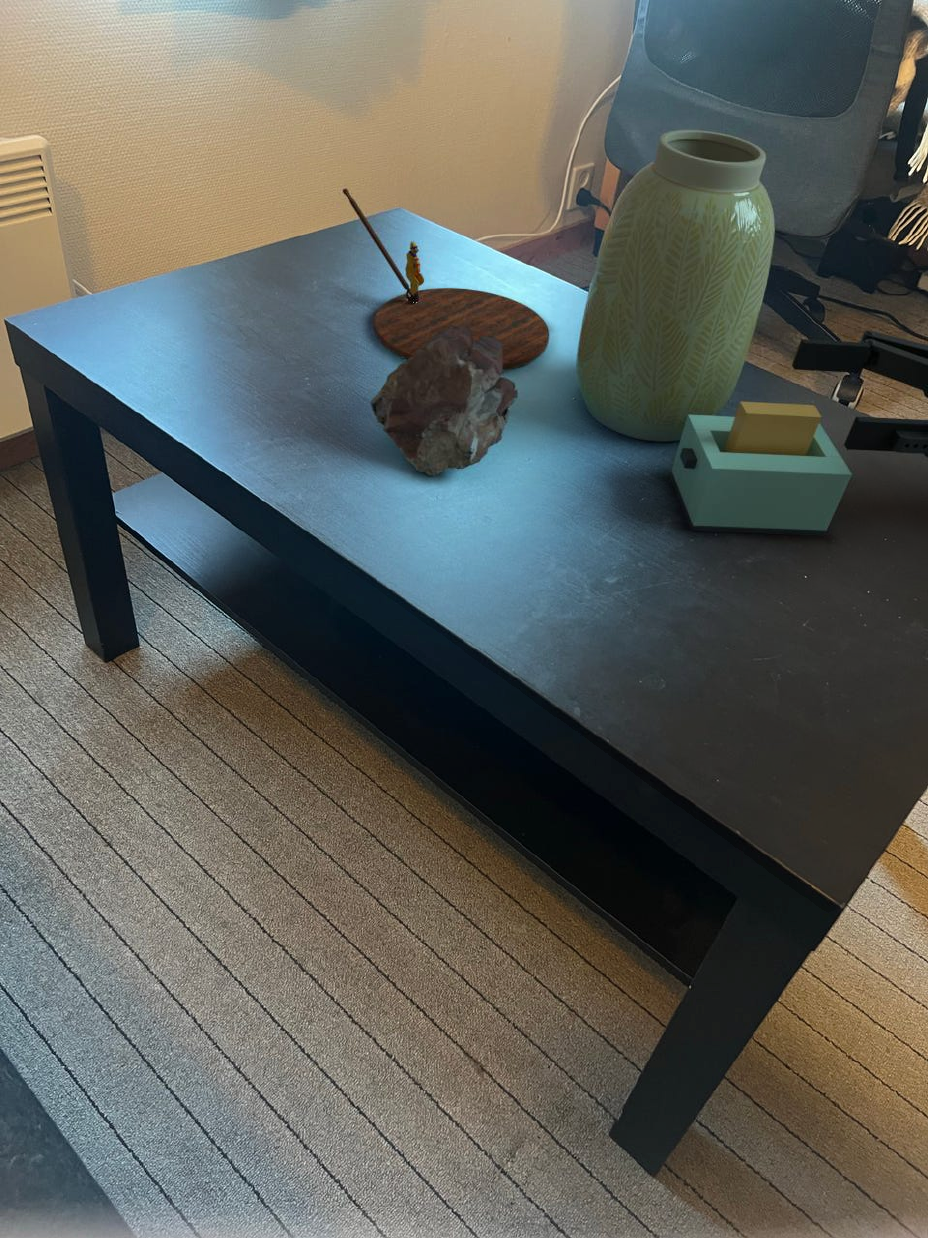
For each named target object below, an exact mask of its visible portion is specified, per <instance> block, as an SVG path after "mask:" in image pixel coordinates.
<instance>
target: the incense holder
mask: <svg viewBox="0 0 928 1238" xmlns="http://www.w3.org/2000/svg"><path fill="white" fill-rule="evenodd" d="M342 193H343V194H344V195H345V197H346V198H347V199H348V202H349V204H350V205H351V207H352V209H353V211H354V212H355V213H356V215H357V217H358V218H359V220H360V221H361V223H362V224H363V226H364V227H365V229H366V231H367V232H368V234H369V236H370V237H371V238H372V240H373V242H374V243H375V245H376V246H377V248H378V249H379V251H380V253H381V254H382V256H383V257H384V259H385V260H386V262H387V264H388V265H389V267H390V268H391V270H392V272H393V273H394V274H395V276H396V278H397V279H398V281H399V282H400V284H401V286H402V287H403V289H404V290H406V292H405V293H403V294H400V295H397V296H395V297H393V298H391V299H389V300H387V301H386V302H385V303H383V305H381V306H380V307H379V308H378V310H377V311H376V312H375V315H374V319H373V329H374V333H375V335H376V337H377V339H378V340H379V341H380V343H381V344H382V345H383V346H384V347H386V348H387V349H388V350H389V351H391V352H392V353H393V354H396V355H397V356H399V357H401V358H403V359H404V360H407V361H408V359H409V358H410V357H412V356H414V355H415V352H416V351H417V350H418V348H420V347H421V346H422V345H423V344H424V343H425V342H427V341H428V340H430V339H431V338H432V337H434V336H435V335H436V334H437V333H438V332H439V331H440V330H442V329H446V330H448V329H451V328H452V327H453V326H454V325H456V326H463V327H468V328H469V329H470V330H471V331H472V332H473V343H475V342H476V341H477V340H478V339H479V338H481V337H482V336H485V337H489V338H494V339H499V340H500V341H501V343H502V348H503V369H502V371H506V370H511V369H515V368H518V367H519V368H520V367H522V366H524V365H528V364H529V363H531V362H533V361H535V360H536V359H537V358H539V357H540V356H541V355H542V354H544V352H545V351H546V349H547V348H548V345H549V342H550V341H549V340H550V330H549V327H548V324H547V323H546V321H545V320H544V318H543V317H541V315H540V314H539V313H538V312H536V311H535V310H534V309H532V308H530V307H529V306H527V305H525V304H523V303H521V302H519V301H517V300H514V299H512V298H509V297H507V296H503V295H500V294H496V293H492V292H488V291H483V290H478V289H477V290H476V289H469V288H459V287H458V288H456V287H441V288H438V287H437V288H426V289H425V288H424V289H419V288H420V286H421V285H424V283H425V277H424V276H423V274H422V273H421V263H420V258H419V257H418V255H417V254H418V252H419V251H420V250H419V249H418V245H417V244H416V243H415V241H414V240H412V241H410V244H409V250H408V252H407V253H406V265H405V267H404V268H405V269H404V270H405V277H406V279H407V280H406V279H405V277H404V276H403V274H402V273H401V271H400V269H399V268H398V266H397V265H396V263H395V262H394V260H393V258H392V257H391V255H390V254H389V252H388V250H387V249H386V247H385V245H384V244H383V243H382V241H381V240H380V238H379V237H378V235H377V234H376V232H375V230H374V228H373V227H372V225H371V224H370V222H369V221H368V219H367V218H366V216H365V214H364V213H363V212H362V210H361V208H360V207H359V205H358V203H357V202H356V200H355V199H354V197H352V196H351V194H350V192H349V189H348V188H343V189H342ZM407 281H408V282H409V283H408V282H407ZM407 299H408V300H407ZM413 302H414V303H413ZM416 302H417V303H416Z"/></svg>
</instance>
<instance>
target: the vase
mask: <svg viewBox="0 0 928 1238" xmlns="http://www.w3.org/2000/svg"><path fill="white" fill-rule="evenodd" d="M766 159H767V154H766V153H765V151H764V150H763V149H762V148H761V147H760V146H758V145H756V144H754V143H752V142H750V141H748V140H746V139H743V138H740V137H736V136H733V135H729V134H726V133H721V132H716V131H709V130H701V129H678V130H672V131H668V132H665V133H663V134H662V135H660V137H659V139H658V143H657V147H656V154H655V158H654V161H651V162H650V163H648V164H647V165H646V166H643V168H641V169H640V170H639V171H638V172H637V173H636V174H635V175H634V176H633V177H632V178H631V179H630V180H629V182H627V184H626V185H625V186H624V188H623V190H622V191H621V193H620V195H619V197H618V198H617V200H616V201H615V204H614V206H613V209H612V211H611V214H610V216H609V219H608V222H607V225H606V228H605V229H604V230H605V231H604V233H603V235H602V236H603V237H602V240H601V243H600V246H599V250H598V253H597V257H596V261H595V264H594V268H593V271H592V276H591V280H590V284H589V286H588V292H587V297H586V301H585V304H584V309H583V315H582V321H581V325H580V330H579V331H580V332H579V337H578V345H577V351H576V360H575V361H576V362H575V363H576V365H575V366H576V378H577V383H578V388H579V390H580V393H581V396H582V399H583V402H584V405H585V407H586V409H587V410H588V412H589V414H590V415H591V416H592V417H593V418H594V419H595V420H596V421H597V422H598V423H600V424H601V425H603V426H604V427H606V428H607V429H610V430H611V431H614V432H615V433H618V434H621V435H623V436H625V437H630V438H634V439H637V440H642V441H648V442H657V443H659V442H660V443H663V442H665V443H668V442H677V441H678V442H679V441H680V440H681V437H682V433H683V430H684V426H685V423H686V419H687V416H688V414H689V415H708V416H720V414H721V413H722V412H723V410H724V409H725V407H726V406H727V405H728V403H729V402H730V400H731V398H732V396H733V394H734V392H735V391H736V390H735V389H736V388H737V384H738V382H739V379H740V376H741V374H742V371H743V369H744V368H743V367H744V365H745V362H746V360H747V357H748V354H749V351H750V347H751V344H752V341H753V337H754V335H755V331H756V327H757V323H758V321H759V317H760V313H761V309H762V304H763V301H764V297H765V293H766V290H767V284H768V280H769V274H770V269H771V264H772V258H773V253H774V252H773V251H774V244H775V235H776V234H775V233H776V226H775V225H776V224H775V223H776V222H775V221H776V220H775V214H774V208H773V203H772V201H771V198H770V195H769V193H768V191H767V189H766V187H765V185H763V183H762V182H761V180H760V178H761V174H762V171H763V168H764V166H765V163H766Z"/></svg>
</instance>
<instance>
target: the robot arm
mask: <svg viewBox="0 0 928 1238" xmlns="http://www.w3.org/2000/svg"><path fill="white" fill-rule="evenodd" d="M791 367H792V368H793V370H796V371H812V372H813V371H814V372H830V373H831V372H833V373H849V374H850V373H852V374H855V375H858V374H860V373H861V371H862V369H863V370H866V371H869V372H871V373H873V374H876V375H879V376H882V377H884V378H888V379H890V380H892V381H895V382H899V383H901V384H904V385H906V386H909V387H911V388H915V389H917V390H921V391H922V392H923V395H924V397H925V398H927V399H928V344H925V343H920V342H917V341H913V340H909V339H905V338H902V337H901V338H900V337H897V336H892V335H889V334H885V333H882V332H876V331H873V330H864V332H863V334H862V337H861V339H860V341H841V340H823V339H808V338H807V339H805V338H801V339H800V342H799V345H798V348H797V350H796V353H795V356H794V359H793V361H792V364H791ZM843 445H844V447H845V448H846V450H847V451H848V450H849V451H871V452H872V451H874V452H895V453H899V454H920V455H921V454H922V455H924V456H925V457H926V458H928V419H917V418H916V419H915V418H896V417H895V418H893V417H876V416H875V417H874V416H855V418H854V420H853V422H852V424H851V427H850V430H849V432H848V434H847V436H846V439H845V441H844V443H843Z"/></svg>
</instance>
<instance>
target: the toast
mask: <svg viewBox="0 0 928 1238" xmlns="http://www.w3.org/2000/svg"><path fill="white" fill-rule="evenodd" d="M734 417H735V418H734V421H733V424H732V427H731V430H730V433H729V436H728V439H727V442H726V445H725V448H724V451H723V452H726V453H748V454H770V455H791V456H806V454H807V451H808V449H809V446H810V444H811V441H812V439H813V436H814V434H815V431H816V429H817V427H818V424H819V423H820V422H821V419H822V415H821V413H819V411H818V409H817V407H816V406H815V405H814V404H796V403H792V404H791V403H775V402H759V401H758V402H756V401H739V404H738V407H737V409H736V413H735V415H734Z"/></svg>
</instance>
